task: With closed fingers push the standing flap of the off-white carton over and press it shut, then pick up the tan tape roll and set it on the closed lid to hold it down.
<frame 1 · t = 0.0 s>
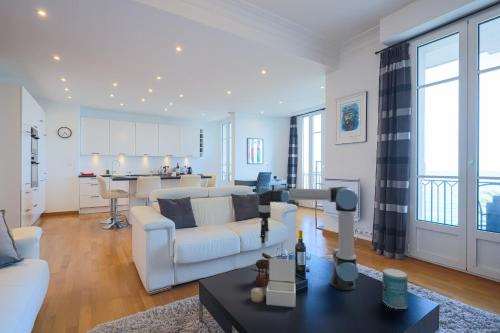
hand: (264, 244, 163), 28 cm above the table, fingers open, 13 cm apart
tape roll: (257, 299, 150), on the table
food can: (394, 304, 143), on the table
music box: (262, 282, 172), on the table
lid: (282, 270, 156), point 15 cm above the table, hinge at 100.0°
carton: (281, 300, 148), on the table
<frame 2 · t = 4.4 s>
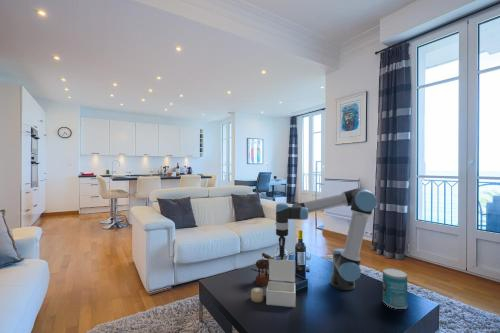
hand: (282, 266, 158), 16 cm above the table, fingers closed
lid: (281, 270, 155), point 15 cm above the table, hinge at 94.0°, touching gripper
everything else where it was.
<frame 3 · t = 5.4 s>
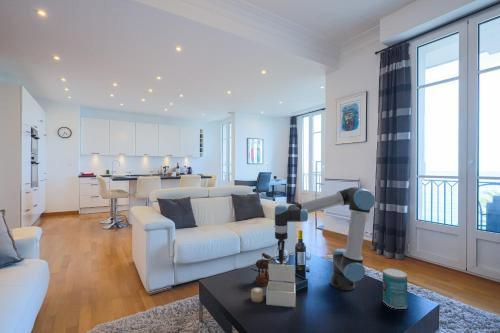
hand: (281, 270, 153), 15 cm above the table, fingers closed
lid: (281, 272, 152), point 14 cm above the table, hinge at 67.2°, touching gripper
everything else where it was.
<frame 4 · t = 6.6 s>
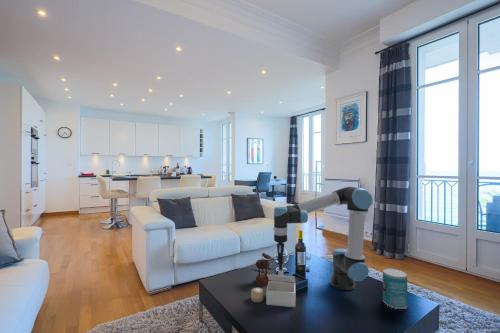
hand: (280, 274, 147), 15 cm above the table, fingers closed
lid: (281, 278, 150), point 12 cm above the table, hinge at 36.1°
everything else where it was.
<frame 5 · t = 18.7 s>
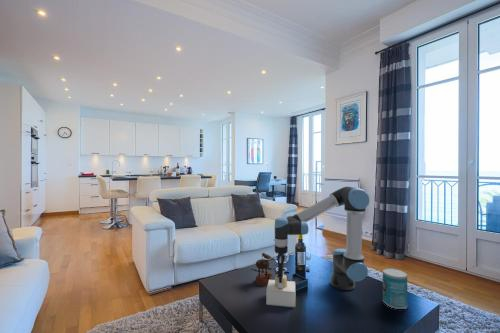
hand: (281, 284, 148), 9 cm above the table, fingers closed on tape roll, 7 cm apart
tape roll: (281, 285, 148), point 9 cm above the table, touching gripper, lid
lid: (281, 285, 148), point 9 cm above the table, hinge at -0.4°, touching gripper, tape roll
everything else where it was.
when the fingers open (9 cm above the table, at t = 19.0 s): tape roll stays where it is, resting on lid.
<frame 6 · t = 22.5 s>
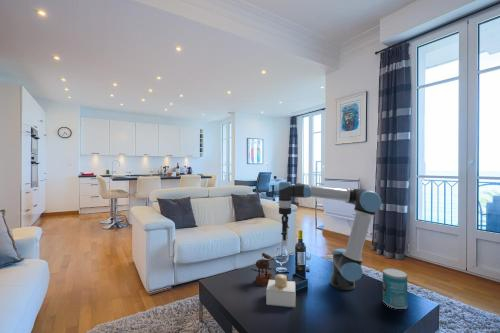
hand: (285, 242, 156), 32 cm above the table, fingers open, 13 cm apart
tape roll: (281, 285, 148), point 9 cm above the table, touching lid
lid: (281, 285, 148), point 9 cm above the table, hinge at -0.4°, touching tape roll
everything else where it was.
at the end: lid at +0° (first picture: +100°); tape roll inside the target area on the carton (0.1 cm from its centre), point 8.9 cm above the carton's base; the gripper is holding nothing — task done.
